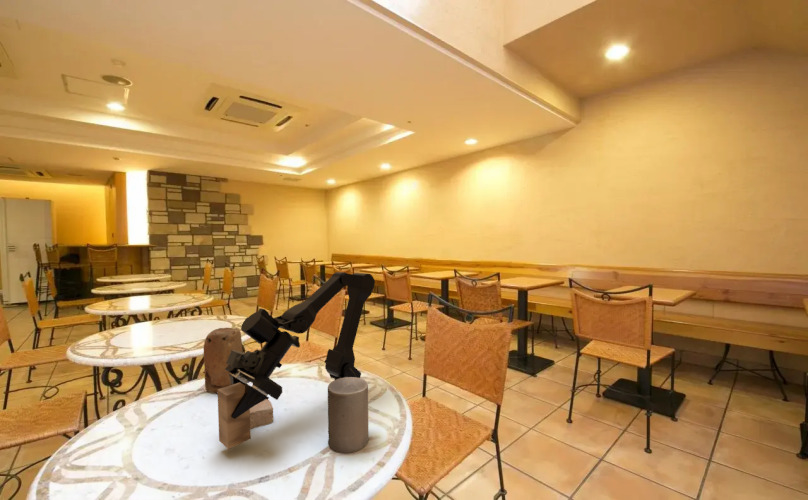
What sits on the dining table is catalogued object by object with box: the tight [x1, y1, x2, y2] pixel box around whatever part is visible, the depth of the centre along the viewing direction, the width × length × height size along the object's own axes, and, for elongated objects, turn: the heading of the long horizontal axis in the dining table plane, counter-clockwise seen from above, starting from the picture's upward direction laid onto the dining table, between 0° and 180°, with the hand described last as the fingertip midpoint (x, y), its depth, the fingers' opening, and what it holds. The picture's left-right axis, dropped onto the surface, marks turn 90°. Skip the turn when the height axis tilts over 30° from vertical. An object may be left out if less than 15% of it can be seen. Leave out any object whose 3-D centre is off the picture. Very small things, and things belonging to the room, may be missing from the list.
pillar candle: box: [327, 377, 369, 454], centre depth 80 cm, size 10×10×15 cm
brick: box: [250, 399, 274, 430], centre depth 95 cm, size 17×8×5 cm, turn 32°
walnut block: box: [217, 382, 252, 450], centre depth 78 cm, size 5×5×12 cm
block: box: [203, 327, 243, 394], centre depth 111 cm, size 11×8×20 cm
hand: (227, 414), depth 77 cm, fingers closed on walnut block, 5 cm apart
